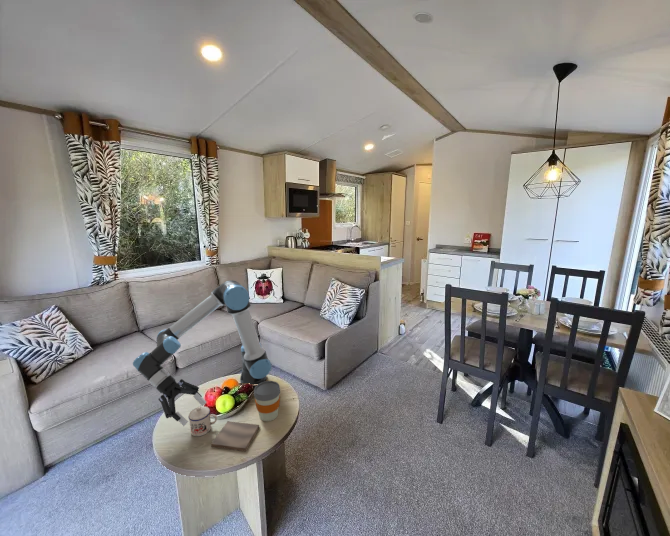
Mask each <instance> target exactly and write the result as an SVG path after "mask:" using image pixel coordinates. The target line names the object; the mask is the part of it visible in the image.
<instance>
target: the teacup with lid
mask: <svg viewBox="0 0 670 536" xmlns="http://www.w3.org/2000/svg"><path fill="white" fill-rule="evenodd" d="M212 417H213V418H214V421H211V418H212ZM188 420H189V421H188V422H189V428H190V434H191V435H192V436H194V437H200V436H201V437H202V436H204V435H206V434H208V433H209V431H211V429H212V425H214V424H216V423H217V421H218V416H217V415H216V414H214V413H211V409H210V408H209V407H208V406H204V405H203V406H198V407H195V408H194V409H192V410H191V411H190V412H189V413H188Z"/></svg>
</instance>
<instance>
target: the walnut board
mask: <svg viewBox="0 0 670 536" xmlns="http://www.w3.org/2000/svg"><path fill="white" fill-rule="evenodd" d="M259 429H260V424H256V423H255V424H254V423H247V422H246V423H245V422H237V421H228V420H227V421H226V423H225V424H224V425H223V427H222V428H221V429H220V431H219V432H218V434H217V435H216V436H215V438H214V439H213V440H212V442H211V443H210V448H218V449H226V450H233V451H239V452H247V450H248V448H249V446H250V444H251V443H252V442H253V439H254V438H255V436H256V434H257V433H258V431H259Z"/></svg>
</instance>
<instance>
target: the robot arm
mask: <svg viewBox="0 0 670 536" xmlns="http://www.w3.org/2000/svg"><path fill="white" fill-rule="evenodd" d="M221 306H222V307H223V306H225V309H226V311H227V314H229V315H230V316H232V318H233V321H234V324H235V327H236V330H237V333H238V336H239V337H240V341H241V347H240V355H241V367H242V369H241V374H240V377H239V379H240V380H239V381H240V384H241V383H250V384H259V383H262V382H265V381H267V377H268V375H269V374H270V372H271V370H272V362H271V360H269V357H268V355H267V352H266V349H265V347H263V346H262V344H261V342H260V340H259V337H258V334H257V330H256V327H255V324H254V321H253V318H252V314H251V312H250V308H251V302H250V294H249V292H248V290H247V288H245V287H244V286H243V285H242V284H241V283H240V282H239V281H237V280H234V279H232V280H226V281H224V282H223V283H221V284H220V285H219V286H217V287H216V288H215V289H213V290H212V291H211V292H210V295H209V296H208V297H206V298H205V299H204V300H202V301H201V302H199V304H197V305H196V306H195V307H194V308H192V309H191V310H189V311H188V312H186V314H184V315H183V316H182V317H181V318H179V319H178V320H177V321H175V322H174V323H173V324H172V325H170V326H169V327H168V328H166V329H162V330H161V331H159V332H158V333H157V336H156V340H155V341H156V347H155V348H154V349H153V350H152V351H151V352H147V351H146V352H142V353H141V354H140V355H138V356H137V357H136V358H135V359H134V360H133V362H132V366H133V367H134V368H135V369H136V370H137V372H138V373H139V374H141V375H142V376H143V377H144V379H146V380H147V381H148V382H149V383H150V385H152V386H153V387H156V390H157V391H158V393H160V394H162V395H161V396H160V397H159V398H158V401H159V402H160V404H161V407H162V410H163V413H164V416H165V418H166V419H169V418H173V419H174V420H175V421H176V422H179V423H180V424H181V425H182V426H183V427H185V425H187V424H188V422H189V421H188V420H187V419H186V417H184V416H183V415H182V414H181V413H180V412H179V411H176V401H175V399H176V397H177V396H179V394H184V395H190V396H192V398H193V399H195V400H196V401H197V403H199V404H200V405H201V407H203V406H204V405H205V404H207V400H205V399H204V398H203V396H202V395H201V393H200V392H199V390H200V387H199V386H198V385H197V386H196V385H194V384H193V383H190V382H187V381H185V380H184V379H182V378H181V379H179V380H178V382H177V381H176V379H175V378H174V377H173V376H172V375H170V373H169V371H167V370H166V369H165V368H164V367H163V366H162V365H163V364H164V363H165V362H166V361H167V360H168V359H170V357H172V356H173V355H174V354H175V353H177V352H178V350H179V349H180V348H181V346H182V345H181V343H180V341H179V339H181V338H182V337H183V336H184V335H185V334H187V332H189V331H190V330H192V329H193V328H194V327H195V326H197V325H198V324H200V323H201V322H202V321H203V320H204V319H205V318H207V317H208V316H209V315H211V314H212V313H213V312H214V311H215V310H217V309H218V308H220V307H221Z"/></svg>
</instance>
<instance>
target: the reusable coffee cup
mask: <svg viewBox="0 0 670 536" xmlns="http://www.w3.org/2000/svg"><path fill="white" fill-rule="evenodd" d="M280 394H281V388H280V384H279V383H278V382H277V381H273V380H265V382H262V383H259V384H258V385H257V386H254V390H253V397H254V401H255V402H254V403H255V406H256V410H257V411H258V416H259V419H260V420H261V421H263V422H271V421H273V420H275V419H276V418H277V417H278V416H279V407H280V404H281V403H280V402H281V395H280Z"/></svg>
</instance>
